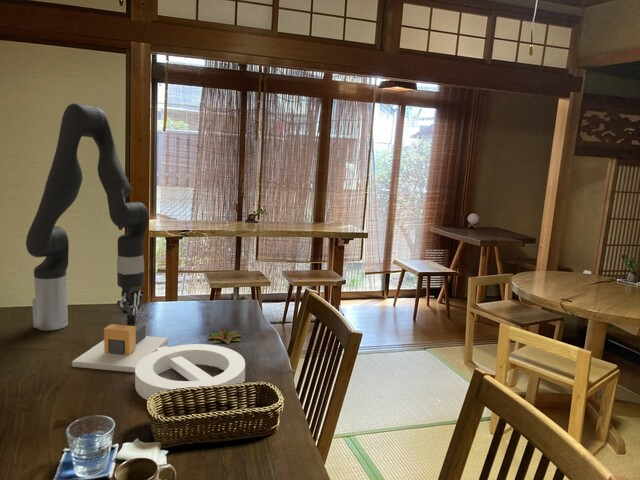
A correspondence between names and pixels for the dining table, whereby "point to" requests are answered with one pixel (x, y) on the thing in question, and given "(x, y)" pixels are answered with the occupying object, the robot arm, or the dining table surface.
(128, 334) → the orange arch block
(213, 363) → the ring with crossbar
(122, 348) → the long grey rectangular bar
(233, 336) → the lily flower
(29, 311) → the dining table surface
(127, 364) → the mat
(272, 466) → the dining table surface
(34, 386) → the dining table surface
